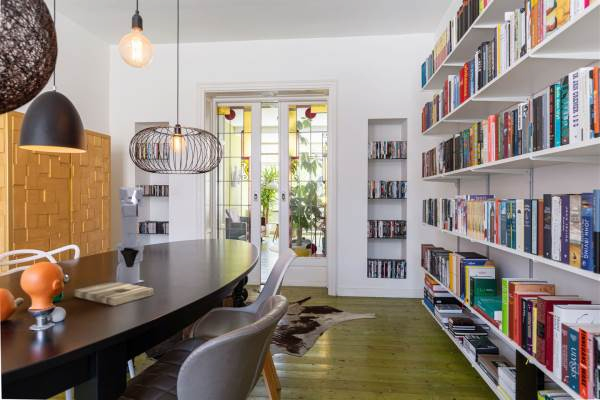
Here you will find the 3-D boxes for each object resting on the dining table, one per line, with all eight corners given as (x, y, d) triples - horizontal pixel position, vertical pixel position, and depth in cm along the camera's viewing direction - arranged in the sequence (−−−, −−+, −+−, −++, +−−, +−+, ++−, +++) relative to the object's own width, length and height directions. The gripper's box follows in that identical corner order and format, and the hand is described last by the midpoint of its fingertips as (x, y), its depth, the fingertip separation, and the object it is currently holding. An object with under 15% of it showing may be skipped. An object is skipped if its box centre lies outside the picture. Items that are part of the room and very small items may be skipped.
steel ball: (61, 273, 158) (60, 276, 155) (70, 273, 159) (69, 277, 157) (60, 279, 158) (59, 283, 156) (68, 279, 160) (67, 283, 157)
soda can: (66, 299, 129) (66, 267, 129) (52, 303, 125) (52, 269, 125) (56, 298, 131) (56, 266, 131) (42, 302, 126) (42, 268, 126)
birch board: (74, 296, 134) (74, 289, 134) (114, 287, 148) (114, 281, 148) (114, 305, 123) (114, 298, 123) (153, 294, 137) (153, 288, 137)
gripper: (109, 233, 143) (109, 267, 143) (132, 235, 136) (132, 270, 136) (125, 232, 149) (125, 264, 149) (148, 233, 143) (148, 267, 143)
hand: (129, 267), depth 143 cm, fingers closed
